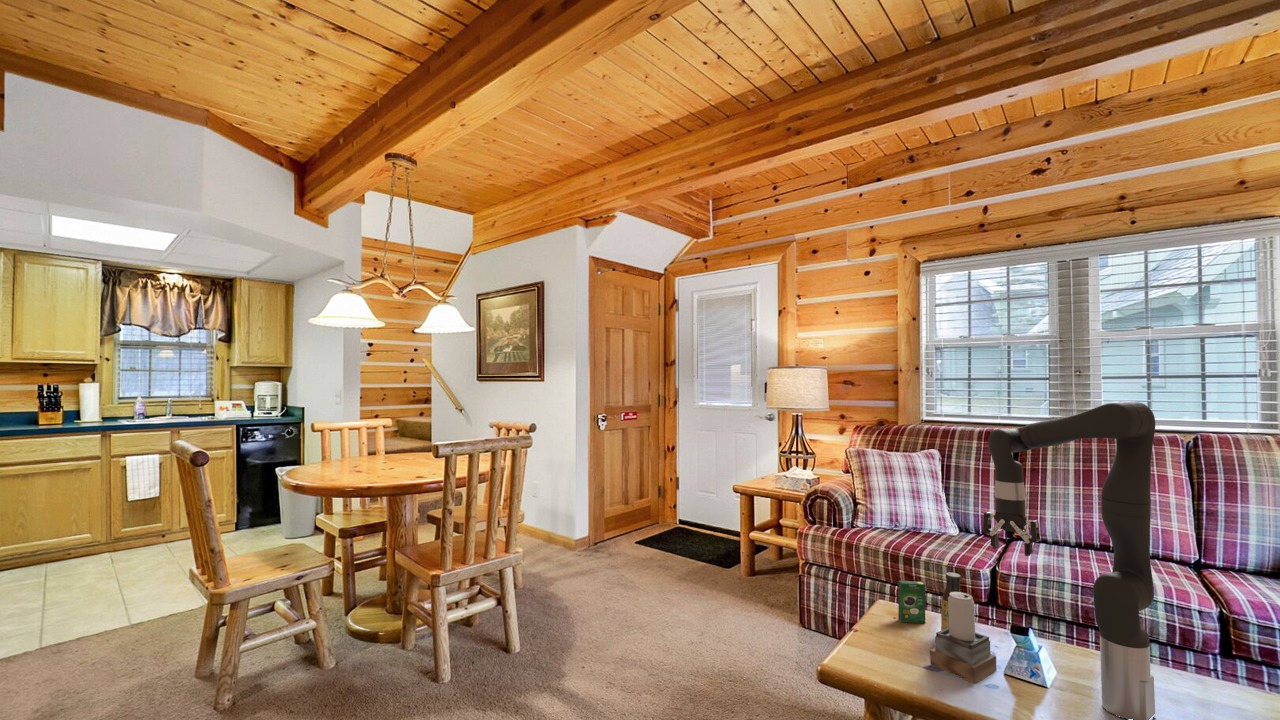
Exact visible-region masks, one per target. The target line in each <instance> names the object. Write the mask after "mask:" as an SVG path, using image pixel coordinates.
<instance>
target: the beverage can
mask: <svg viewBox="0 0 1280 720" xmlns="http://www.w3.org/2000/svg"><path fill="white" fill-rule="evenodd" d="M948 609H949V634H950V635H951V636H952V638H955V639H957V640H960V641H963V642H972V641H973V640H975V632H976V623H975V621H976V620H975V617H976V616H975V614H976V613H975V612H976V611H975V601H974V599H973V596H972V595H971V594H969V593H967V592H962V591H961V592H951V593H950V596H949V597H948Z"/></svg>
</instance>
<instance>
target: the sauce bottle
mask: <svg viewBox="0 0 1280 720" xmlns="http://www.w3.org/2000/svg"><path fill="white" fill-rule="evenodd" d="M945 579H946V580H945V581H946V583H945V585H946V586H945V589H944V591H943V595H942V597H941V611H940V613H941V614H940V615H941V618H940V619H941V620H940V622H941V623H940V624H941V625H940V626H941V627H940V631H941V630H943V629H946V628H948V627H949V609H948V597H949V596H950V593H951V592H962V591H961V585H960V584H961V582H960V581H961V575H960V574H959V573H957V572H946V573H945Z"/></svg>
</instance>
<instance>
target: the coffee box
mask: <svg viewBox="0 0 1280 720" xmlns="http://www.w3.org/2000/svg"><path fill="white" fill-rule="evenodd" d="M897 596H898V604H897V605H898V621H899V622H900V621H901V622H900V623H906V622H907V623H906V624H909V623H910V622H912V623H915V624H926V584H925V583H924V582H923V581H915V580H914V581H909V580H898V595H897ZM912 623H911V624H912Z"/></svg>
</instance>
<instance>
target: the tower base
mask: <svg viewBox="0 0 1280 720" xmlns="http://www.w3.org/2000/svg"><path fill="white" fill-rule="evenodd" d="M934 638H935V639H934V641H935V642H934V644H935V646H934V648H932V649H930V650H929V654H930V655H929V657H930V658H929V660H930V661H929V663H930V665H931V666H932V667H935V668H937V669H940V670H943V671H944V672H947V673H949V674H952V675H954V676H956V677H958V678H962V679H964V680H966V681H968V682H970V683H972V684H976V683H978V682H979V681H981V680H983V679H985V678H987V677H988V676H990V675H991V674H993V673H995V672H997V655H995V654H992V653H991V640H990V637H989V636H987V635H984V634H982V633H979V632H976V631H975V640H973V641H972V642H963V641H960V640H957V639H955V638H952V636H951V635H950V634H949V627H948V628H946V629H943V630H941V629H940V631H937V632H936V633H935V636H934Z"/></svg>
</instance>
